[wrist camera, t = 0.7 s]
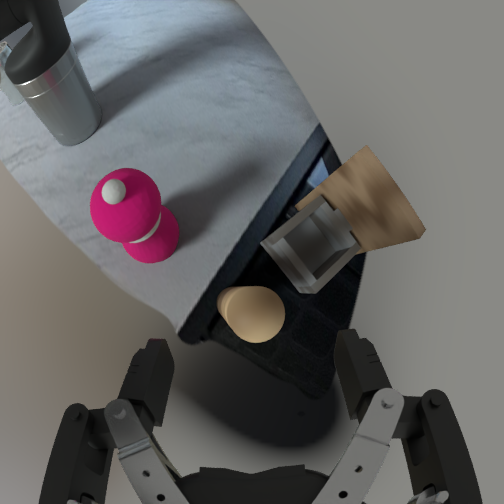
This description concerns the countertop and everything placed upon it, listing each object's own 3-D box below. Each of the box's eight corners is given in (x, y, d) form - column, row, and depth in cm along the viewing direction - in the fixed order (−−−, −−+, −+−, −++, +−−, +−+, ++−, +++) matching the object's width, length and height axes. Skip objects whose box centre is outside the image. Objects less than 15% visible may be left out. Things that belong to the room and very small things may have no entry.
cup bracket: (249, 241, 38) (291, 202, 20) (301, 200, 40) (366, 145, 22) (294, 297, 38) (366, 303, 20) (342, 252, 40) (425, 229, 23)
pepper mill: (121, 231, 35) (53, 176, 15) (165, 203, 36) (135, 123, 17) (146, 276, 35) (88, 262, 15) (191, 247, 36) (181, 202, 17)
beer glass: (36, 91, 34) (8, 46, 19) (12, 113, 32) (-21, 73, 18) (30, 77, 34) (6, 36, 19) (7, 98, 32) (-21, 60, 17)
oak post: (209, 300, 36) (216, 311, 20) (235, 280, 37) (260, 274, 21) (231, 325, 36) (253, 353, 20) (255, 305, 37) (295, 317, 21)
